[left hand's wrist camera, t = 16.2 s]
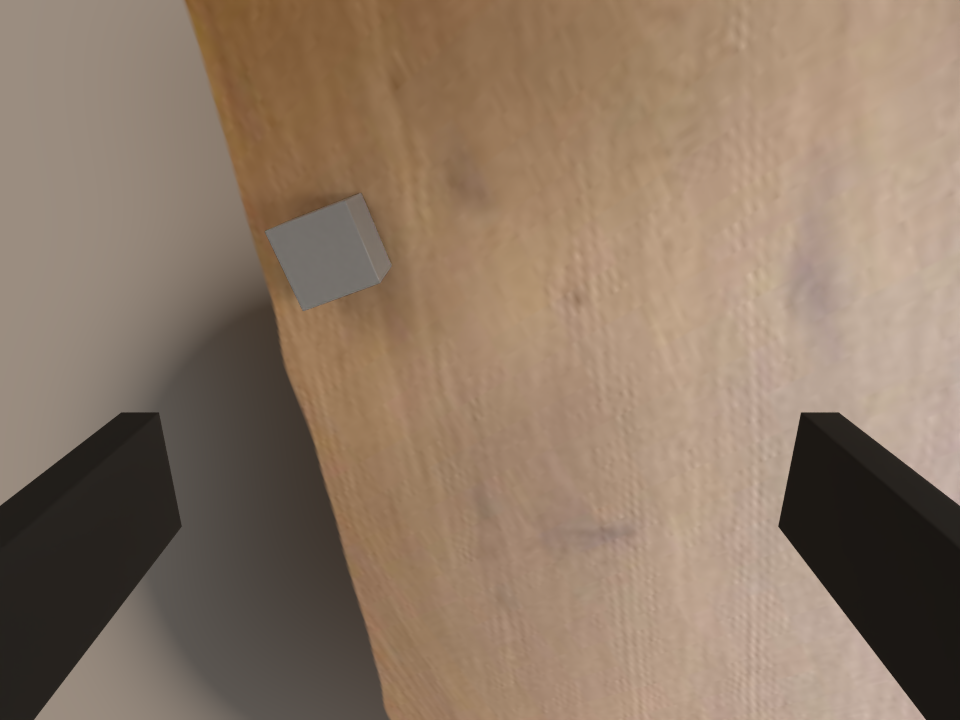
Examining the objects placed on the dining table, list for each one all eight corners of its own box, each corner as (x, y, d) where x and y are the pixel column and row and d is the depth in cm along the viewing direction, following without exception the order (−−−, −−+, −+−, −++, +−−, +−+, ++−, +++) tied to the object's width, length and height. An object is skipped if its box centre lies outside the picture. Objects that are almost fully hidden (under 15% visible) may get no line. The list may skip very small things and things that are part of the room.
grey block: (289, 219, 39) (264, 231, 34) (361, 192, 39) (344, 200, 34) (323, 291, 41) (302, 311, 36) (392, 265, 40) (380, 283, 35)
